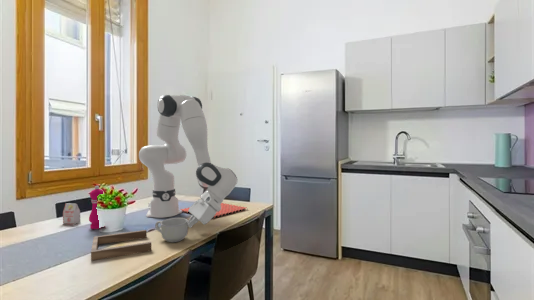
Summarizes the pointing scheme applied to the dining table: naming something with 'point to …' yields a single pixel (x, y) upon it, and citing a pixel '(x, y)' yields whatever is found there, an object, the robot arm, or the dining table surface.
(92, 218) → the pepper mill
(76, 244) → the dining table surface
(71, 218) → the small food carton
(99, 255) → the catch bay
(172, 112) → the robot arm
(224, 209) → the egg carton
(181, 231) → the teacup
